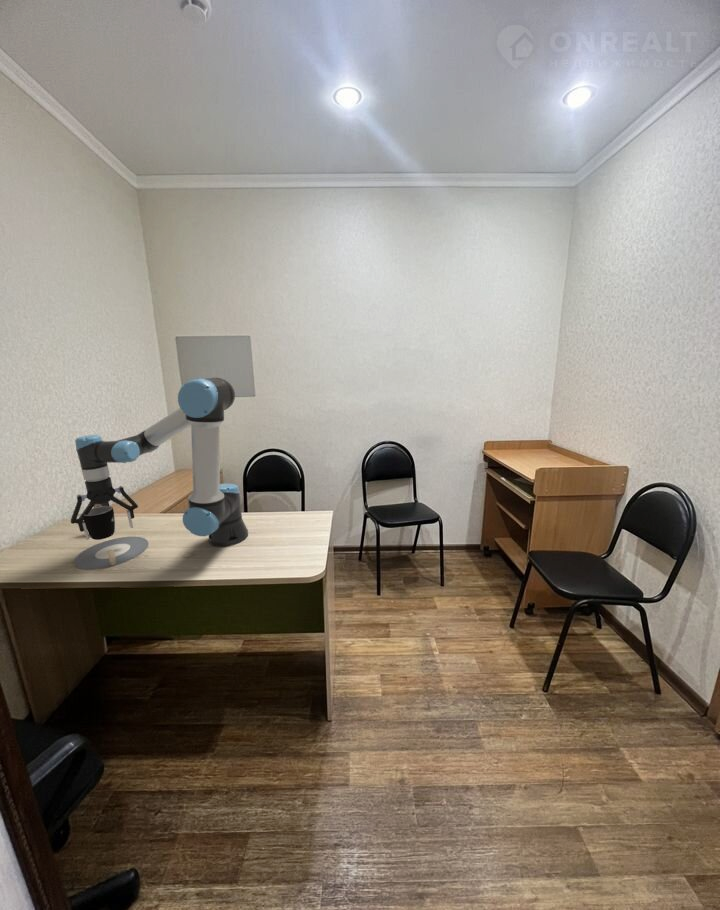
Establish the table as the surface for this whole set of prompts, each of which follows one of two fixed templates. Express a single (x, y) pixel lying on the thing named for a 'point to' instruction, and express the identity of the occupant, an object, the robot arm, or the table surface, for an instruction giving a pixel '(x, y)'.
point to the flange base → (104, 563)
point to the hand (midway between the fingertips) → (110, 532)
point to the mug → (100, 522)
